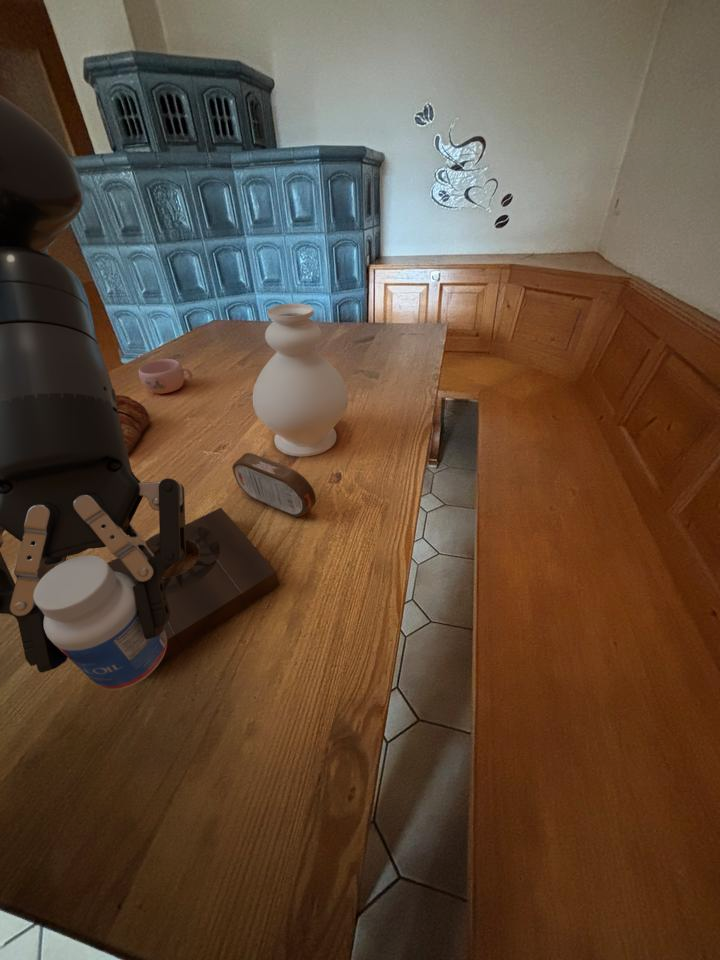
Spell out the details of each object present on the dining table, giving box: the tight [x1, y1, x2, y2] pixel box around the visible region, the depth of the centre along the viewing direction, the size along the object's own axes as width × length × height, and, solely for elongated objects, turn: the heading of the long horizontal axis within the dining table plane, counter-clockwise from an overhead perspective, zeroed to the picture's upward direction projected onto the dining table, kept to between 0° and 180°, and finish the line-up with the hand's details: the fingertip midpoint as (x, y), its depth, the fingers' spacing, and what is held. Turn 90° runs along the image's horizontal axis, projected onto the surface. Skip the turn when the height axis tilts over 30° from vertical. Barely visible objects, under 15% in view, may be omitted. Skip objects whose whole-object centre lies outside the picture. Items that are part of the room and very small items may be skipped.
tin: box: [231, 452, 317, 518], centre depth 60 cm, size 15×3×8 cm, turn 59°
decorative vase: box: [251, 302, 349, 458], centre depth 70 cm, size 18×18×25 cm
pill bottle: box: [33, 554, 167, 691], centre depth 26 cm, size 6×5×10 cm
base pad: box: [107, 507, 280, 665], centre depth 50 cm, size 18×17×3 cm
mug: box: [137, 358, 193, 394], centre depth 95 cm, size 12×10×6 cm
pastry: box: [116, 394, 150, 455], centre depth 78 cm, size 17×15×8 cm
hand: (106, 649), depth 26 cm, fingers closed on pill bottle, 5 cm apart
